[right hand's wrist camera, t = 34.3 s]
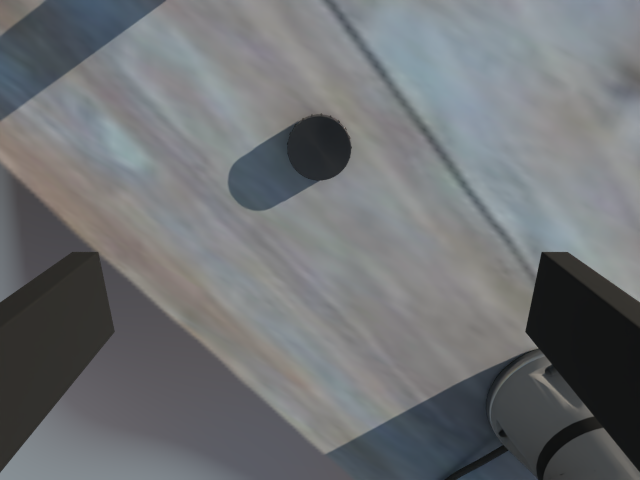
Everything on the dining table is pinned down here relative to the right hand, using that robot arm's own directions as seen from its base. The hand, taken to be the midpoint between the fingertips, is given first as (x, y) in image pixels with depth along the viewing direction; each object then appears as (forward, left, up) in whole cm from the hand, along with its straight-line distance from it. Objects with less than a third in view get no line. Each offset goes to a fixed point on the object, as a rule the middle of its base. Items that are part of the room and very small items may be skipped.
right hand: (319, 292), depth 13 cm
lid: (0, 0, -26) cm, 27 cm away
